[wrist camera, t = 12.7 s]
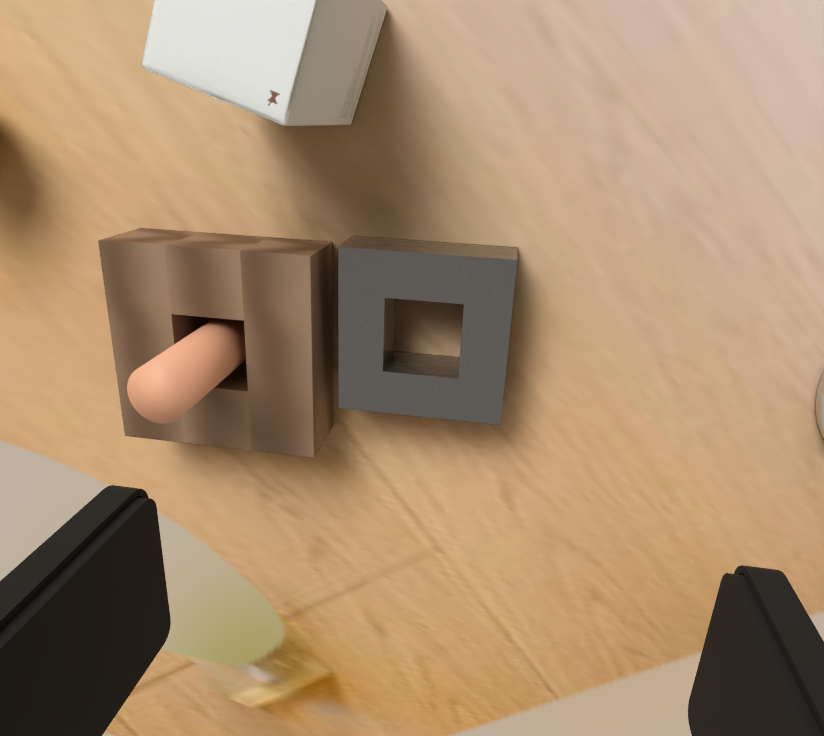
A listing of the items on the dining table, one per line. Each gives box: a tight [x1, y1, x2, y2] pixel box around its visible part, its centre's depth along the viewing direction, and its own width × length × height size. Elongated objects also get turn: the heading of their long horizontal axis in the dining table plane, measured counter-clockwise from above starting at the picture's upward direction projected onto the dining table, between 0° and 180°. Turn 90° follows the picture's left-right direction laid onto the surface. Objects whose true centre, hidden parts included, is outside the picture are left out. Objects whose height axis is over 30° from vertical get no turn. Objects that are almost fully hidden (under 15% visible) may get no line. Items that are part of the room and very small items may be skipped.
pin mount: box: [338, 236, 518, 425], centre depth 43 cm, size 11×11×4 cm
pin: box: [127, 318, 246, 424], centre depth 42 cm, size 4×4×12 cm
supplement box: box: [142, 0, 387, 126], centre depth 34 cm, size 7×7×13 cm
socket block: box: [98, 228, 333, 458], centre depth 45 cm, size 14×14×5 cm
